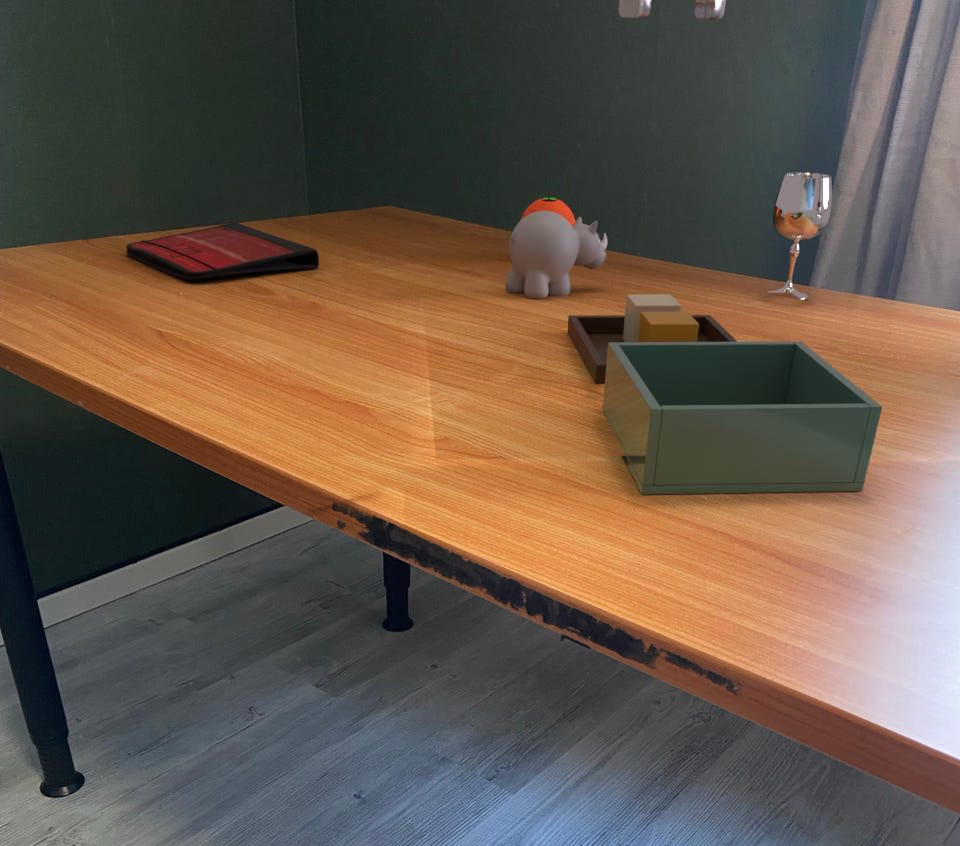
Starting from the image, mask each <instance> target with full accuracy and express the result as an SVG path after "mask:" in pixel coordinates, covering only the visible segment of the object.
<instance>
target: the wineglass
mask: <svg viewBox="0 0 960 846" xmlns="http://www.w3.org/2000/svg"><path fill="white" fill-rule="evenodd" d="M832 185H833V184H832V176H831V175H829V174H825V173H817V172H800V171H799V172H797V171H795V172H787V173H785V174H784V175H783V177H782V180H781V183H780V186H779V188H778V190H777V193H776V196H775V197H776V198H775V200H774V204H773V210H772V223H773V227H774V229H775V231H776V232H777V233H778V234H779V235H780V236H782V237H783V238H785V239H787V240H789V241H791V242H792V243H793V244H792V245H791V247H790V249H789V269H788V274H787V279H786V283H785V284H784V285H783V287H781V288H777V289H771V290H768V291H766V294H768V293H769V294H777V293H778V294H781V293H785V294H786V293H787V294H792V295H793V296H795V297H797V298H798V299H799V300H801V301H803V300H807V299H808V298H809V295H808V294H807V293H805V292H803V291H799V290H797V289H795V287H794V285H793V277H794V271H795V266H796V263H797V259H798V257H799V256H800V250H801V249H800V248H801V247H800V243H801V242H805V241H808V240H810V239H813V238H815V237H817V236H819V235H820V234H821V233H822V232H823V231H824V229H825V228H826V227H827V224H828V222H829V219H830V216H831V212H832V200H833V186H832Z"/></svg>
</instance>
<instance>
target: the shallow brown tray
mask: <svg viewBox="0 0 960 846" xmlns="http://www.w3.org/2000/svg"><path fill="white" fill-rule="evenodd" d="M690 315H691V316H692V317H693V318H694V319H695V320H696V321H697V322H698V323H699V329H698V336H697V342H739V341H738V340H737V339H736V338H735V337H734V336H732V335H731V334H730V332H729V331H727V330H726V329H725V328H724V326H722V325H721V324H720V323H719V322H718V321H717V320H716V319H715V318H714V317H713V316H712V315H711V314H690ZM624 321H625V314H621V315H620V314H613V315H611V314H608V315H607V314H605V315H604V314H601V315H600V314H599V315H593V314H592V315H588V314H587V315H586V314H585V315H580V314H579V315H574V314H573V315H568V317H567V334H568V336H569V338H570V340H571V341H572V342H571V343H572V344H573V345H574V347H575V349H576V351H577V353H578V355H579V357H580V358H581V360H582V362H583V364H584V366H585V368H586V370H587V371H588V373H589V375H590V377H591V379H592V381H593V383H594V384H595V385H605V375H606V363H607V351H608V343H609V342H617V343H619V342H625V341H624V340H623V332H624Z"/></svg>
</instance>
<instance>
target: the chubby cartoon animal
mask: <svg viewBox="0 0 960 846" xmlns="http://www.w3.org/2000/svg"><path fill="white" fill-rule="evenodd" d="M575 221H576V223H575V225H574V226H572V225H571V224H570V223H569V222H568V221H567V220H566V219H565V218H564V217H563V216H561V215H559V214H557V213H555V212H551V211H537V212H534V213H531V214H529V215H527V216H526V217H524V218H523V219H522V220H521V219H520V221H519V222H518V223H517V224H516V225H515V227H514V229H513V231H512V233H511V236H510V239H509V243H508V245H509V246H508V249H509V250H508V251H509V253H508V254H509V258H510V262H511V268H510V270H509V271H508V272H507V273H508V274H507V275H506V276H507V277H506V280H505V286H504V287H505V291H506V292H507V293H509V294H524V297H525V298H527V299H531V300H542V299H545V298H547V297H548V296H555V297H564V296H569V295H570V294H571V280H570V275H569V273H570V272H571V270H572V269H573V267H574V266H578V267H579V266H581V267H582V266H583V267H585V268H586V269H588V270H596V269H599V268H600V267H602V265H603V264H604V262H605V260H606V258H607V253H606V249H607V246H608V237H607V234H606V232H604V234H603V238H602V239H601V238H600V236H599V235H600V234H598V232H597V228H598V223H599V222H598V220H595V221H593V222H592V223H591V224H590V225H588V224H585V223H583V218H582V217H581V216H578V217H577V219H575Z"/></svg>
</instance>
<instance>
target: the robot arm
mask: <svg viewBox="0 0 960 846" xmlns="http://www.w3.org/2000/svg"><path fill="white" fill-rule="evenodd" d="M651 2H652V0H618V15H619V17H620V18H622V19H623V18H626V19H627V18H629V19H646V18H648V17H649V16H650V14H651V10H652V6H651ZM726 2H727V0H695V7H694V17H695V18H696V19H698V20H721V19H722V18H723V17H724V14H725V11H726Z"/></svg>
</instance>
